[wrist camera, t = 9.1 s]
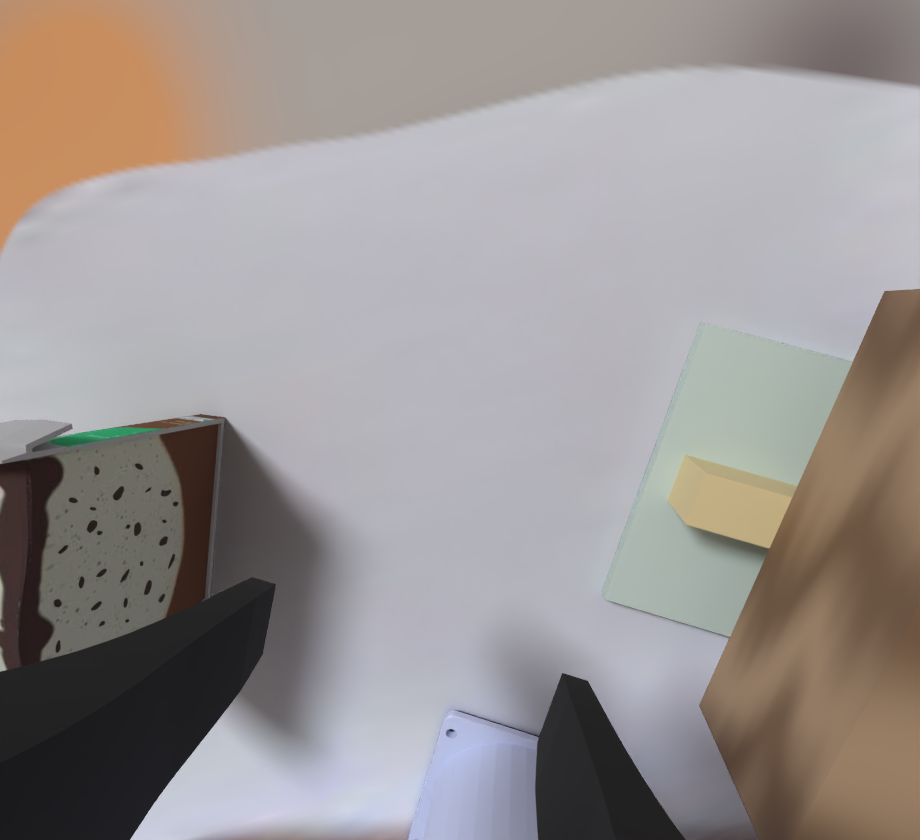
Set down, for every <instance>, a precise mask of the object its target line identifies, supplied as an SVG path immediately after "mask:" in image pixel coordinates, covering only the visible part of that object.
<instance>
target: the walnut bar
mask: <svg viewBox="0 0 920 840" xmlns="http://www.w3.org/2000/svg"><path fill="white" fill-rule="evenodd" d="M699 706H700V708H701V711H702V713H703V715H704V717H705V720H706V722H707V724H708V726H709V728H710V731H711V733H712V735H713V737H714V740H715V742H716V744H717V746H718V749H719V751H720V753H721V755H722V758H723V760H724V762H725V764H726V767H727V769H728V771H729V773H730V775H731V778H732V780H733V782H734V784H735V787H736V789H737V791H738V793H739V796H740V798H741V800H742V802H743V805H744V807H745V809H746V811H747V813H748V816H749V818H750V820H751V822H752V825H753V827H754V829H755V831H756V834H757V836H758V838H759V840H920V289H914V290H897V291H884V294H883V296H882V298H881V300H880V303H879V305H878V307H877V309H876V311H875V314H874V316H873V318H872V320H871V323H870V325H869V327H868V329H867V332H866V334H865V336H864V338H863V341H862V343H861V345H860V347H859V350H858V352H857V354H856V356H855V358H854V361H853V363H852V365H851V367H850V370H849V372H848V374H847V376H846V379H845V381H844V383H843V385H842V388H841V390H840V392H839V394H838V396H837V399H836V401H835V403H834V405H833V408H832V410H831V412H830V414H829V417H828V419H827V421H826V423H825V426H824V428H823V430H822V432H821V434H820V437H819V439H818V441H817V443H816V446H815V448H814V450H813V452H812V455H811V457H810V459H809V461H808V464H807V466H806V468H805V470H804V473H803V475H802V477H801V479H800V481H799V484H798V486H797V488H796V490H795V493H794V495H793V497H792V499H791V502H790V504H789V506H788V508H787V511H786V513H785V515H784V517H783V519H782V522H781V524H780V526H779V528H778V531H777V533H776V535H775V537H774V540H773V542H772V544H771V546H770V549H769V551H768V553H767V555H766V557H765V560H764V562H763V564H762V566H761V569H760V571H759V573H758V575H757V578H756V580H755V582H754V584H753V587H752V589H751V591H750V593H749V596H748V598H747V600H746V602H745V604H744V607H743V609H742V611H741V613H740V616H739V618H738V620H737V622H736V625H735V627H734V629H733V631H732V634H731V636H730V638H729V640H728V642H727V645H726V647H725V649H724V651H723V654H722V656H721V658H720V660H719V663H718V665H717V667H716V669H715V672H714V674H713V676H712V678H711V680H710V683H709V685H708V687H707V689H706V692H705V694H704V696H703V698H702V701H701V703H700V705H699Z"/></svg>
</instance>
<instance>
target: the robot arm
mask: <svg viewBox="0 0 920 840" xmlns="http://www.w3.org/2000/svg"><path fill="white" fill-rule="evenodd" d="M275 586H276V584H273V583H270V582H266V581H263V580H260V579H257V578H253V577H252V578H250V579H248V580H245V581H243V582H241V583H239V584H237V585H235V586H233V587H231V588H229V589H227V590H225V591H223V592H221V593H219V594H217V595H214V596H212V597H210V598H208V599H206V600H204V601H202V602H200V603H198V604H195V605H193V606H191V607H189V608H187V609H185V610H183V611H180V612H178V613H176V614H174V615H171V616H169V617H167V618H164V619H162V620H159V621H157V622H155V623H152V624H150V625H147V626H145V627H143V628H140V629H138V630H135V631H133V632H131V633H128V634H125V635H123V636H120V637H117V638H114V639H112V640H109V641H106V642H103V643H100V644H97V645H94V646H91V647H88V648H85V649H82V650H79V651H76V652H72V653H69V654H66V655H62V656H58V657H54V658H51V659H47V660H43V661H40V662H36V663H32V664H29V665H25V666H21V667H17V668H13V669H9V670H5V671H0V840H130V839H131V837H132V836H133V834H134V833H135V831H136V830H137V828H138V827H139V825H140V824H141V822H142V821H143V819H144V818H145V816H146V815H147V813H148V811H149V810H150V808H151V807H152V805H153V804H154V802H155V801H156V800H157V798H158V797H159V796H160V794H161V793H162V792H163V790H164V789H165V787H166V786H167V785H168V783H169V782H170V781H171V779H172V778H173V777H174V776H175V774H176V773H177V772H178V770H179V769H180V768H181V767H182V765H183V764H184V763H185V762H186V760H187V759H188V758H189V756H190V755H191V754H192V753H193V751H194V750H195V749H196V747H197V746H198V745H199V744H200V742H201V741H202V740H203V739H204V737H205V736H206V735H207V733H208V732H209V731H210V730H211V728H212V727H213V726H214V725H215V723H216V722H217V721H218V719H219V718H220V717H221V716H222V714H223V713H224V712H225V710H226V709H227V708H228V707H229V705H230V704H231V703H232V701H233V700H234V699H235V697H236V696H237V695H238V693H239V692H240V690H241V689H242V687H243V686H244V684H245V682H246V681H247V679H248V678H249V676H250V674H251V673H252V671H253V669H254V668H255V666H256V664H257V663H258V661H259V659H260V658H261V656H262V654H263V649H264V644H265V639H266V634H267V628H268V623H269V618H270V613H271V607H272V602H273V597H274V591H275ZM448 729H453V730H455V732H451V731H449V730H448ZM408 840H685V839H684V837H683V836H682V834H681V833H680V832H679V830H678V829H677V828H676V826H675V825H674V824H673V822H672V821H671V819H670V818H669V817H668V815H667V814H666V812H665V811H664V809H663V808H662V806H661V805H660V803H659V802H658V800H657V799H656V797H655V796H654V794H653V793H652V791H651V790H650V788H649V787H648V785H647V784H646V782H645V781H644V779H643V777H642V776H641V774H640V773H639V771H638V769H637V768H636V766H635V764H634V763H633V761H632V759H631V758H630V756H629V754H628V753H627V751H626V749H625V748H624V746H623V744H622V742H621V741H620V739H619V737H618V735H617V734H616V732H615V730H614V728H613V726H612V725H611V723H610V721H609V719H608V717H607V716H606V714H605V712H604V710H603V708H602V706H601V705H600V703H599V701H598V699H597V697H596V695H595V693H594V692H593V690H592V688H591V686H590V684H589V683H588V681H586V680H583V679H580V678H576V677H573V676H570V675H567V674H563V673H562V675H561V678H560V681H559V684H558V686H557V689H556V692H555V695H554V697H553V700H552V703H551V706H550V708H549V711H548V714H547V717H546V719H545V722H544V725H543V728H542V730H541V733H540V736H539V737H537V736H533V735H530V734H527V733H524V732H521V731H518V730H515V729H512V728H509V727H505V726H502V725H499V724H496V723H493V722H490V721H487V720H484V719H480V718H477V717H474V716H471V715H468V714H465V713H462V712H459V711H449V712H448V713H447V714H446V715H445V718H444V721H443V724H442V728H441V731H440V734H439V738H438V741H437V744H436V747H435V751H434V754H433V757H432V761H431V764H430V767H429V770H428V774H427V777H426V780H425V784H424V787H423V790H422V794H421V797H420V800H419V803H418V807H417V810H416V813H415V817H414V820H413V823H412V827H411V830H410V833H409V836H408Z"/></svg>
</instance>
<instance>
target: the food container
mask: <svg viewBox="0 0 920 840" xmlns="http://www.w3.org/2000/svg"><path fill="white" fill-rule="evenodd" d="M224 424H225V417H217V416H209V415H202V414H200V415H194V416H187V417H181V418H174V419H168V420H161V421H155V422H148V423H141V424H135V425H128V426H122V427H115V428H109V429H102V430H96V431H89V432H83V433H76V434H70V435H63V436H58V435H60V434H62V433H64V432H66V431H68V430H71V429H73V428H72V424H70V423H63V422H56V421H48V420H15V421H9V422H4V423H0V671H5V670H9V669H13V668H17V667H21V666H25V665H29V664H32V663H36V662H40V661H43V660H47V659H51V658H54V657H58V656H62V655H66V654H69V653H72V652H76V651H79V650H82V649H85V648H88V647H91V646H94V645H97V644H100V643H103V642H106V641H109V640H112V639H114V638H117V637H120V636H123V635H125V634H128V633H131V632H133V631H135V630H138V629H140V628H143V627H145V626H147V625H150V624H152V623H155V622H157V621H159V620H162V619H164V618H167V617H169V616H171V615H174V614H176V613H178V612H180V611H183V610H185V609H187V608H189V607H191V606H193V605H195V604H198V603H200V602H202V601H204V600H206V599H208V598H210V594H211V582H212V570H213V558H214V546H215V533H216V521H217V509H218V497H219V485H220V472H221V460H222V448H223V436H224Z"/></svg>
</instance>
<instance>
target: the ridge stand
mask: <svg viewBox="0 0 920 840" xmlns="http://www.w3.org/2000/svg"><path fill="white" fill-rule="evenodd" d="M852 363H853V362H852V361H848V360H844V359H840V358H837V357H833V356H829V355H825V354H821V353H817V352H814V351H810V350H806V349H802V348H798V347H795V346H791V345H787V344H783V343H779V342H775V341H772V340H768V339H764V338H760V337H756V336H753V335H749V334H745V333H741V332H737V331H733V330H730V329H726V328H722V327H718V326H714V325H711V324H707V323H700V326H699V328H698V331H697V334H696V336H695V339H694V342H693V345H692V347H691V350H690V353H689V356H688V358H687V361H686V364H685V366H684V369H683V372H682V375H681V377H680V380H679V383H678V386H677V388H676V391H675V394H674V396H673V399H672V402H671V405H670V407H669V410H668V413H667V416H666V418H665V421H664V424H663V426H662V429H661V432H660V435H659V437H658V440H657V443H656V446H655V448H654V451H653V454H652V456H651V459H650V462H649V465H648V467H647V470H646V473H645V475H644V478H643V481H642V484H641V486H640V489H639V492H638V495H637V497H636V500H635V503H634V505H633V508H632V511H631V514H630V516H629V519H628V522H627V525H626V527H625V530H624V533H623V535H622V538H621V541H620V544H619V546H618V549H617V552H616V555H615V557H614V560H613V563H612V565H611V568H610V571H609V574H608V576H607V579H606V582H605V585H604V587H603V590H602V594H603V597H604V599H605V600H608V601H612V602H615V603H618V604H622V605H625V606H628V607H632V608H635V609H638V610H642V611H645V612H648V613H652V614H655V615H658V616H662V617H665V618H668V619H672V620H675V621H678V622H682V623H685V624H688V625H692V626H695V627H698V628H702V629H705V630H708V631H712V632H715V633H718V634H722V635H725V636H728V637H730V636H731V634H732V631H733V629H734V627H735V625H736V622H737V620H738V618H739V616H740V613H741V611H742V609H743V607H744V604H745V602H746V600H747V598H748V596H749V593H750V591H751V589H752V587H753V584H754V582H755V580H756V578H757V575H758V573H759V571H760V569H761V566H762V564H763V562H764V560H765V557H766V555H767V553H768V551H769V549H770V546H771V544H772V542H773V540H774V537H775V535H776V533H777V531H778V528H779V526H780V524H781V522H782V519H783V517H784V515H785V513H786V511H787V508H788V506H789V504H790V502H791V499H792V497H793V495H794V493H795V490H796V488H797V486H798V484H799V481H800V479H801V477H802V475H803V473H804V470H805V468H806V466H807V464H808V461H809V459H810V457H811V455H812V452H813V450H814V448H815V446H816V443H817V441H818V439H819V437H820V434H821V432H822V430H823V428H824V426H825V423H826V421H827V419H828V417H829V414H830V412H831V410H832V408H833V405H834V403H835V401H836V399H837V396H838V394H839V392H840V390H841V388H842V385H843V383H844V381H845V379H846V376H847V374H848V372H849V370H850V367H851V365H852Z"/></svg>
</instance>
